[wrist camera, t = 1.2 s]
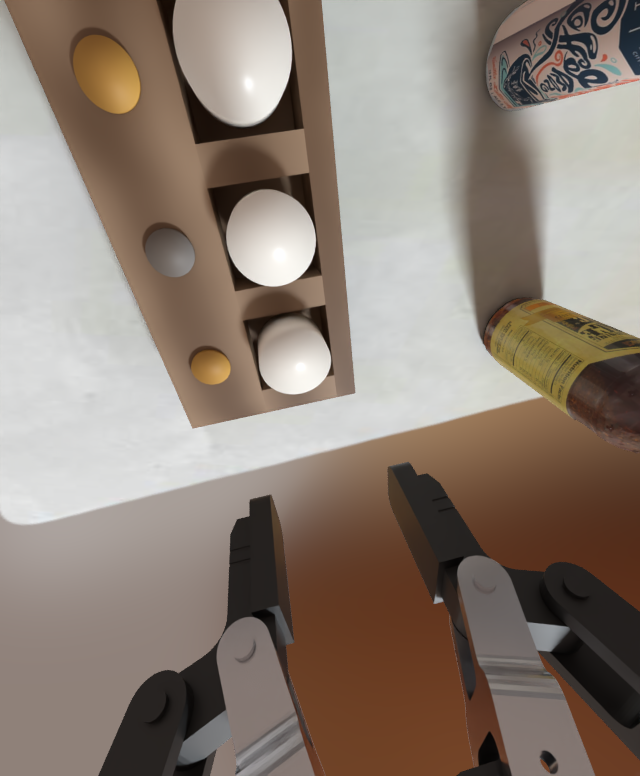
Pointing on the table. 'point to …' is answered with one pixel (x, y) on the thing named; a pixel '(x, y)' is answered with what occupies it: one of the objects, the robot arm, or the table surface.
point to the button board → (196, 191)
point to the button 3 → (292, 354)
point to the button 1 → (234, 56)
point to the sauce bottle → (572, 365)
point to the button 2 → (270, 237)
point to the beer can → (563, 50)
